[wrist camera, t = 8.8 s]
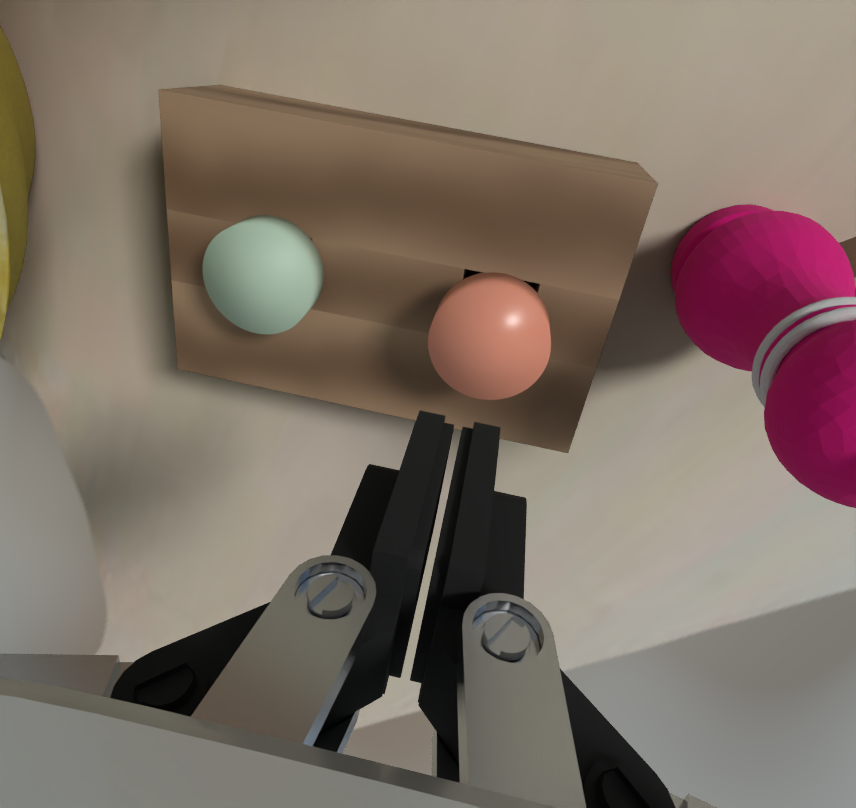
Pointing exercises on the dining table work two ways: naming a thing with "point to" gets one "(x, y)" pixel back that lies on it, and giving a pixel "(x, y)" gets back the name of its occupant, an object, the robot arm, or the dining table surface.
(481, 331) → the red button
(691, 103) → the dining table surface
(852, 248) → the wooden block set
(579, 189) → the button panel
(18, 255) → the planter bowl
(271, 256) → the green button
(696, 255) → the pepper mill
